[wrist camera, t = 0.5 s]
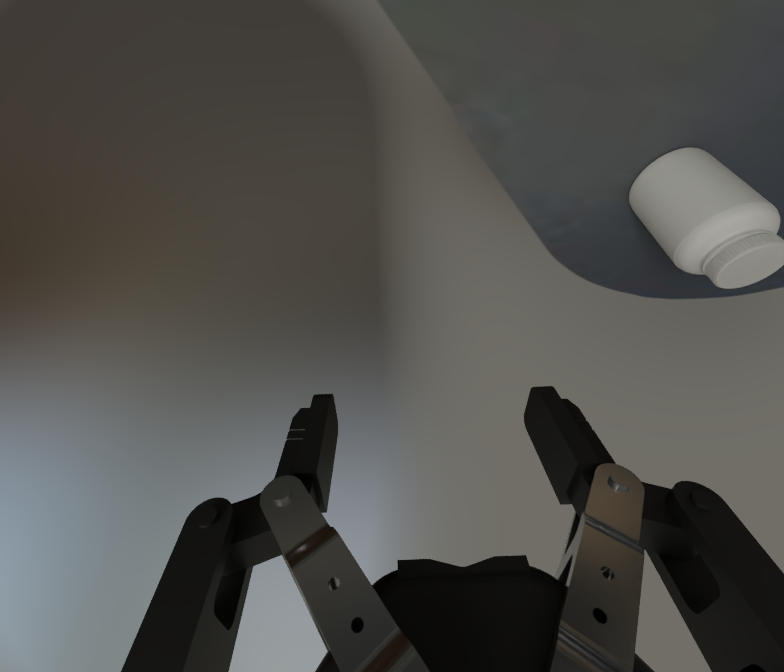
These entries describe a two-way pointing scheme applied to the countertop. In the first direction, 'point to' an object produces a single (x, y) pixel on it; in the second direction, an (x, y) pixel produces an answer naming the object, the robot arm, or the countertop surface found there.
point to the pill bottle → (708, 218)
